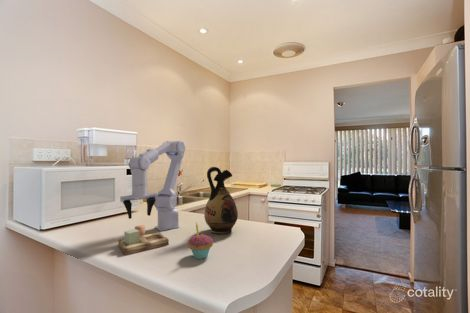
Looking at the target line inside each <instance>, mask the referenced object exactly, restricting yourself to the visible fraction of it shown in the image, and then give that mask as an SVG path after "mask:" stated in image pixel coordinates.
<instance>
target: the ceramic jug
mask: <svg viewBox="0 0 470 313" xmlns="http://www.w3.org/2000/svg"><path fill="white" fill-rule="evenodd" d="M213 172H217V174H216V175H215V177H214V179H213V178H212V173H213ZM231 177H233V174H232V173H231V172H230V171H229V170H227V169H224V170H221V169H220V168H219V167H216V166H211V167H210V168H208V170H207V172H206V178H207V180H208V183H209V184H208V185H209V187H210V196H209V198H208V200H207V202H206V204H205V208H204V214H203V215H204V216H203V217H204V221H205V223H206V225H207V226H208V228H210V231H211V232H210V233H214V234H219V235H222V234H223V235H224V234H226V235H227V234H231V232H232V229H233V227H234V226H235V224H237V221H238V215H239V212H238V207H237V203H236V202H235V200H234V198H233V196H232V195H231V194H230V192H229V191H228V189H227V188H226V186H225V181H226V180H227V179H230V178H231ZM213 181H215V182H216V185H214V182H213Z"/></svg>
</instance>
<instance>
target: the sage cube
mask: <svg viewBox="0 0 470 313" xmlns="http://www.w3.org/2000/svg"><path fill="white" fill-rule="evenodd" d="M123 234H124V235H123V236H124V237H123V239H124V244H125V245H126V246H129V245H133V244H138V243H140V231H138V230H136V229H135V228H133V229H129V230H125V231H124V233H123Z"/></svg>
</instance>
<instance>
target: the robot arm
mask: <svg viewBox="0 0 470 313" xmlns="http://www.w3.org/2000/svg"><path fill="white" fill-rule="evenodd" d="M185 152H186V146H185V142H184V141H183V140H172V141H171V140H170V141H169V140H166V141H164V142H163V143H162V144H161V145H158V147H156V148H155V149H154V148H148V149H146V151H144V152H143V153H139V155H138V156H133V157H131V158H130V160H129V162H128V163H127V164H128V168H129V169H130V173H131V193H132V194H129V195H124V196H120V198H119V200H120V203H121V202H122V204H123V205H124V208H125V209H126V212H127V216H128V220H130V219H132V217H133V216H132V206H133V203H132V201H139V200H146V206H147V208H146V215H147V216H149V217H150V216H151V214H152V211H153V210H152V209H153V207H155V208H156V210H157V225H155V226H154V228H155V229H157V230H158V231H159V232H161V231H167V230H172V229H178V228H180V226H179V210H178V209H177V208H176V206H177V204H178V202H177V198H178V195H177V193H176V192H175V188H176V184H177V180H178V178H179V173H180V169H181V166H182V162H183V158H184V155H185ZM164 154H166V156H167V157H168V159H170V164H169V167H168V170H167V174H166V177H165V181H164V185H163V188H162V189H161V190H159V191H158V192H157V193H156V192H154V193H153V192H151V193H147V191H148V190H147V187H148V186H147V183H148V182H147V170H149V167H150V165H151V164H153V163H155V162H157V160H158V159H159V156H161V155H164Z"/></svg>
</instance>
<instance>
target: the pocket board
mask: <svg viewBox="0 0 470 313" xmlns="http://www.w3.org/2000/svg"><path fill="white" fill-rule="evenodd" d="M169 240H170V239H169V238H168V237H166V236H165V235H164V234H163V233H161V231H159V232H158V231H157V232H154V233H148V234H145V235H142V236H140V243H138V244H133V245H129V246H126V245H125V244H124V238H122V239H118V240H117V241H118V242H117V244H118V248H119V249H120V251H121V253H122V254H123V256H127V255H131V254H134V253H135V254H136V253H140V252H143V251H148V250H152V248H153V249H156V248H160V247H164V246H165V245H166V246H168V245H169V242H170V241H169Z"/></svg>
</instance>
